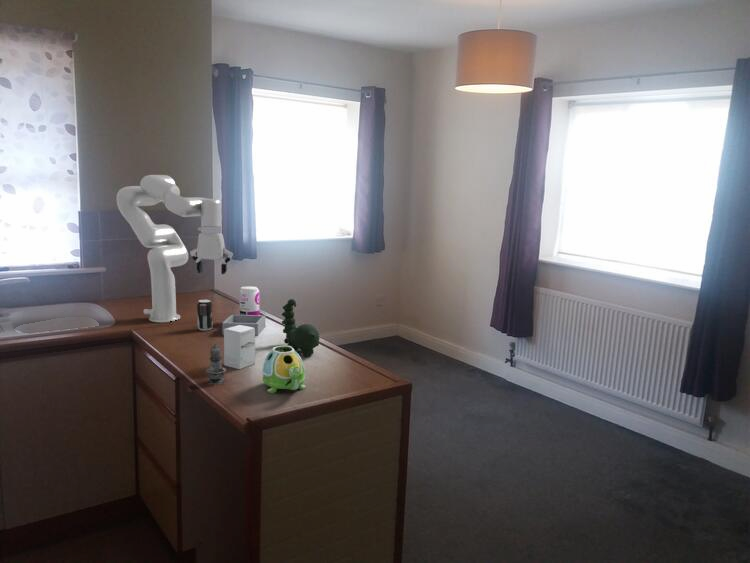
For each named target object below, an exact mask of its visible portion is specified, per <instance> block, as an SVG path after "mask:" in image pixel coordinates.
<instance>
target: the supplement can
mask: <svg viewBox="0 0 750 563" xmlns="http://www.w3.org/2000/svg"><path fill="white" fill-rule="evenodd" d="M239 315H260V289H259V288H258V287H257V286H254V285H246V286H241V287H240V289H239Z"/></svg>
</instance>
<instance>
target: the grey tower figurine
mask: <svg viewBox="0 0 750 563" xmlns="http://www.w3.org/2000/svg"><path fill="white" fill-rule="evenodd" d="M222 359H223V357H222V356H221V347H220V346H217V344H216V343H214V346H212V347H211V348H210V357H209V360H210V366H209V368H207V369H206V370H205V372H206V374H207V377H208V378H209V379H208V380H207V381H206V382H207V384H209V385H221V384H224V383H225V382H226V380H225V379H224V378H223V377H224V376H225V374H226V371H227V368H225V367H222Z"/></svg>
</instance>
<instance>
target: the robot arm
mask: <svg viewBox="0 0 750 563" xmlns="http://www.w3.org/2000/svg"><path fill="white" fill-rule="evenodd" d="M139 184H140V185H129V186H124V187H122V188H120V189H119V190H118V191H117V194H116V206H117V208H118V210H119V212H120V214H121V215H122V217H123V218H124V219H125V221H126V222H127V223H128V224H129V225H130V227H131V229H132V231H133V232H134V234H135V236H136V237H137V239H138V241H139V242H140V244H141V245H142V246H143V247H145V248H149V249H150V248H151V249H150V250H149V251H148V252H147V263H148V266H149V271H150V282H151V283H150V284H151V302H152V303H151V304H152V306H151V307H152V308H151V309H148V308H144V309H143V314H144V315H147V316H148V315H149V317H148V320H149V321H150V322H151V323H152V322H153V323H171V322H170V321H172V322H176V321H175V320H177V321H178V319H179V320H180V319H181V315H180V314H178V313H177V300H176V299H177V296H176V293H177V292H176V278H175V275H174V273H173V271H172V269H171V268H173V267H174V268H175V267H181V266H184V265H185V264H186V263H187V262H188V261H189V255H190V256H191V258H192V260H194V261H195V263H196V271H197V273H198V274H200V273H202V272H203V261H202V260H212V261H213V260H214V261H216V260H217V261H218V260H219V261H220V262H221V263H222V264H220V266H221V267H220V268H221V270H220V272H221V275H225V274H226V272H228V271H227V270H228V268H227V267H228V266H227V265H228V263H229V262H230V261H231V260H232V258H233V256H234V253H233V252H232V251H231V250H228V249H227V248H226V246H225V240H224V239H225V238H224V234H223V233H222V210H221V209H222V206H221V204H222V203H221V200H219V199H217V198H207V197H201V196H199V197H198V196H196V197H195V196H193V197H184V196H182V195H180V194H181V190H180V188H179V187H178V186H177V185H176V181H175V180H174V179H173V178H172V177H171V176H170V175H166V174H148V175H145V176H143V177H142V178H141V180H140V183H139ZM161 202H162V203H163V204H164V205H165V207H166V208H165V209H167V210H168V211H169V212H171V213H173V214H175V215H178V216H180V217H182V218H183V217H184V218H191V217H200V221H201V222H200V226H198V227H197V230H198V231H200V233H199V234H198V240H197V247H196V248H194V249H192V250H190V251H189V252H188V249H187V247H186V246H185V244H184V243H183V241H182V239H181V238H180V236H179V235H178V233H177V232H176V230H175V228H173V226H170V225H169V224H164V223H163V224H157V223H154V222H153V221H152V219H151V216H149V214H147V212H146V211H144V210H143V209H142V208H140V207H148V206H149V207H150V206H155V205H157V204H159V203H161ZM189 253H190V254H189ZM196 253H197V255H196ZM226 255H227V258H225V257H226Z"/></svg>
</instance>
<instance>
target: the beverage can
mask: <svg viewBox="0 0 750 563" xmlns="http://www.w3.org/2000/svg"><path fill="white" fill-rule="evenodd" d="M196 308H197V328H198V330H200V331H202V332H203V331H206V332H207V331H210V330H212V329H213V327H214V326H213V324H214V323H213V304H212V302H211V300H210V299H199V300H198V303H197V304H196Z"/></svg>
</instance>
